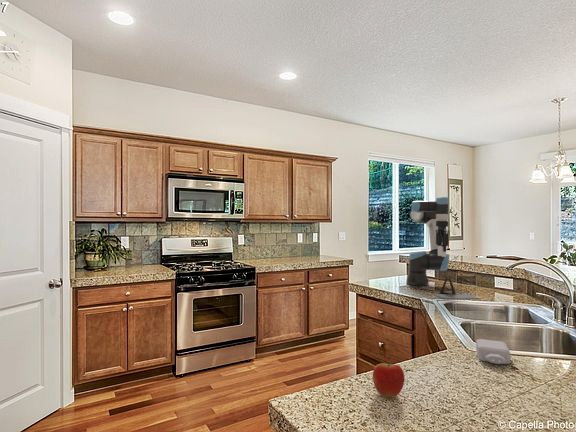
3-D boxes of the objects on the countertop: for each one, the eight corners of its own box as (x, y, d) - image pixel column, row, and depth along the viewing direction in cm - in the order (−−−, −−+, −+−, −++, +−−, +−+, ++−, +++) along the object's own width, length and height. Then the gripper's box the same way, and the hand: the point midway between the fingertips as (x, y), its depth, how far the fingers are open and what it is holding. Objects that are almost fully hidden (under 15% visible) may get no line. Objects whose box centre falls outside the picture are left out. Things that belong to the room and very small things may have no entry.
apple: (370, 400, 95) (370, 361, 95) (374, 386, 103) (375, 350, 103) (403, 405, 92) (403, 365, 92) (405, 391, 100) (405, 354, 100)
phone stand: (440, 292, 232) (440, 273, 233) (440, 292, 238) (440, 273, 239) (455, 294, 228) (455, 274, 229) (455, 293, 234) (456, 274, 235)
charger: (480, 367, 118) (476, 351, 131) (513, 372, 114) (505, 355, 128) (480, 352, 118) (476, 338, 131) (513, 356, 114) (506, 342, 128)
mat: (433, 294, 228) (433, 294, 228) (468, 294, 230) (468, 294, 230) (443, 299, 216) (443, 298, 216) (479, 299, 218) (479, 298, 218)
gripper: (430, 220, 250) (430, 254, 250) (443, 220, 233) (442, 257, 232) (441, 220, 251) (441, 254, 251) (454, 220, 233) (454, 257, 233)
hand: (441, 256), depth 242 cm, fingers open, 5 cm apart
